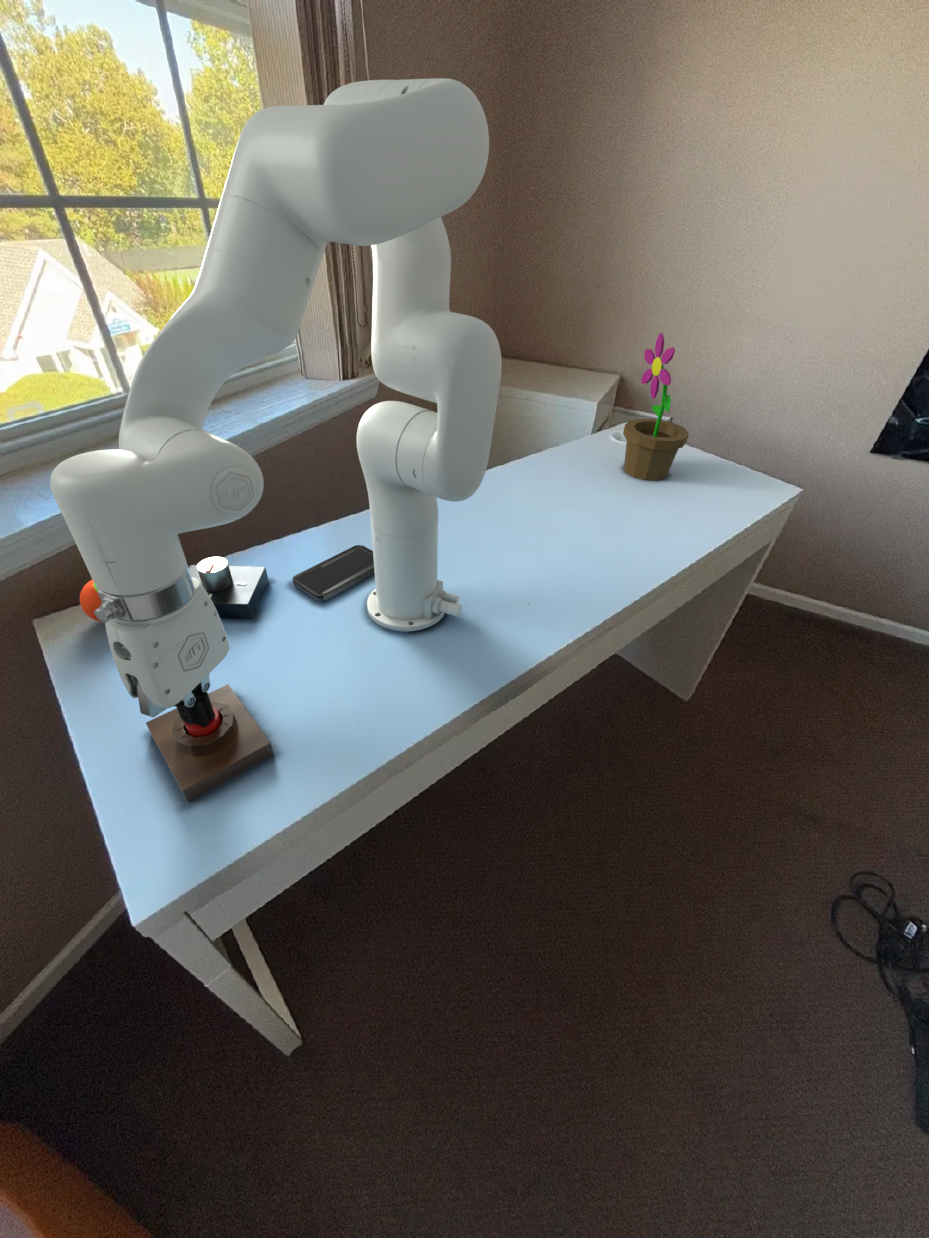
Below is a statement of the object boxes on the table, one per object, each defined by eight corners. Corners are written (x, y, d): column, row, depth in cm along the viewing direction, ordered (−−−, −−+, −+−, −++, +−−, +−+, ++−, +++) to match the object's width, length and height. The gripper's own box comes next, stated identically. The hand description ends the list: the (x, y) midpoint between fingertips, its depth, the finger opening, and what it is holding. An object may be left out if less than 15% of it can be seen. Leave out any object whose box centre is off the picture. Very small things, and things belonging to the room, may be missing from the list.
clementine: (147, 627, 81) (130, 588, 76) (93, 642, 78) (73, 603, 73) (138, 598, 86) (122, 561, 81) (88, 612, 83) (69, 573, 78)
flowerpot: (605, 460, 136) (634, 326, 116) (657, 457, 139) (693, 326, 119) (632, 486, 125) (669, 343, 106) (687, 482, 128) (733, 342, 109)
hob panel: (268, 581, 91) (265, 565, 89) (252, 619, 83) (247, 603, 81) (195, 579, 90) (190, 563, 88) (171, 618, 83) (165, 601, 81)
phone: (388, 560, 95) (319, 597, 86) (389, 565, 96) (320, 603, 87) (358, 543, 99) (289, 577, 90) (359, 548, 100) (290, 583, 90)
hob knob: (207, 575, 86) (201, 554, 84) (236, 575, 87) (230, 555, 84) (198, 591, 83) (191, 571, 81) (228, 591, 83) (222, 571, 81)
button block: (274, 754, 64) (267, 732, 62) (188, 802, 59) (177, 781, 57) (232, 695, 71) (224, 674, 69) (151, 734, 66) (140, 712, 63)
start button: (227, 729, 63) (223, 719, 62) (195, 745, 61) (191, 735, 60) (214, 710, 65) (210, 701, 64) (183, 725, 63) (179, 715, 62)
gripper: (116, 648, 44) (180, 782, 56) (234, 556, 55) (267, 683, 67) (44, 626, 46) (121, 760, 57) (173, 541, 57) (215, 667, 68)
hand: (199, 718), depth 62 cm, fingers closed
